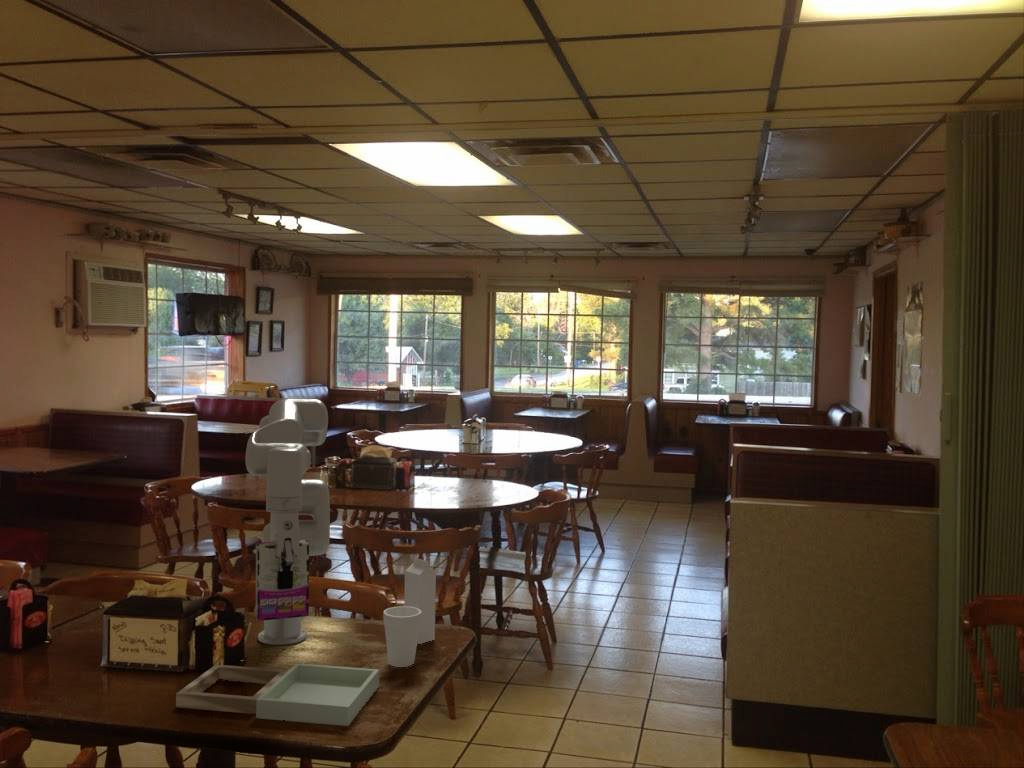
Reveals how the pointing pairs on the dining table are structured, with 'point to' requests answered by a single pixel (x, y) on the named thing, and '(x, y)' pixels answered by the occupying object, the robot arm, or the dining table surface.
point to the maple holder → (221, 702)
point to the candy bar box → (267, 594)
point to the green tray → (318, 694)
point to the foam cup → (401, 634)
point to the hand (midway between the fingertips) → (282, 584)
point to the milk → (422, 596)
